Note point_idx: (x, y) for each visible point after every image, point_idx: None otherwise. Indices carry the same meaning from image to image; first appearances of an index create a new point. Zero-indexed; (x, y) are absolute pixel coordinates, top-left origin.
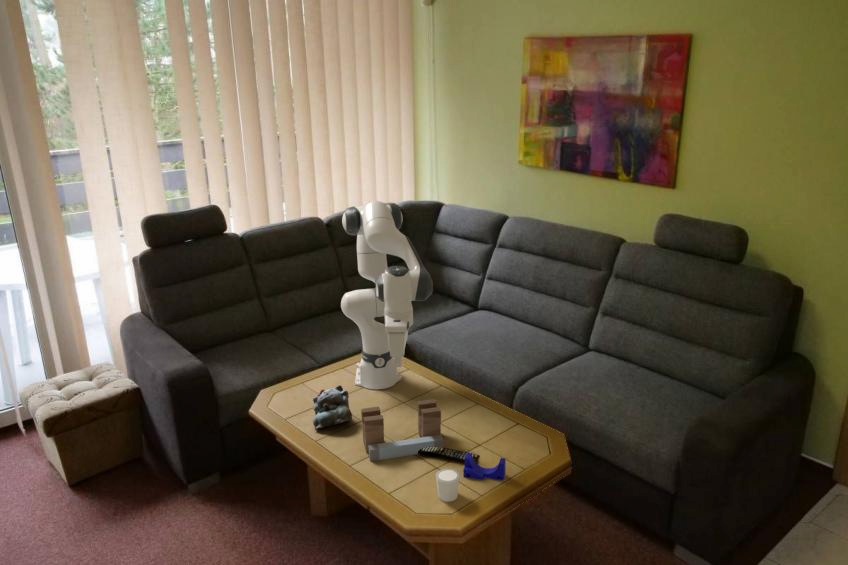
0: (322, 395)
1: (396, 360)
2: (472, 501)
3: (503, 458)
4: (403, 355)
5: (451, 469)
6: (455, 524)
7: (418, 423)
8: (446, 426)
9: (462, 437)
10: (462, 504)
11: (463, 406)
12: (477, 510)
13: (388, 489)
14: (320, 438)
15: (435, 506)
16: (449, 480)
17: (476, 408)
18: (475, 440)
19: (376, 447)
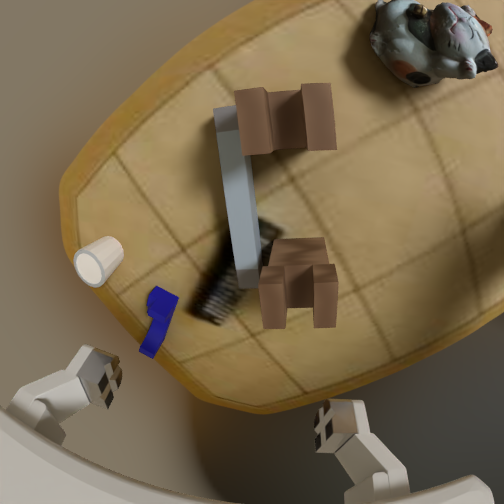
0: (460, 12)
1: (52, 382)
2: None
3: (152, 356)
4: (316, 420)
5: (102, 279)
6: (64, 246)
7: (322, 250)
8: None
9: None
10: None
11: (397, 339)
12: None
13: (123, 151)
14: (345, 6)
15: (89, 227)
16: (78, 268)
17: (379, 356)
18: (269, 333)
19: (223, 126)
